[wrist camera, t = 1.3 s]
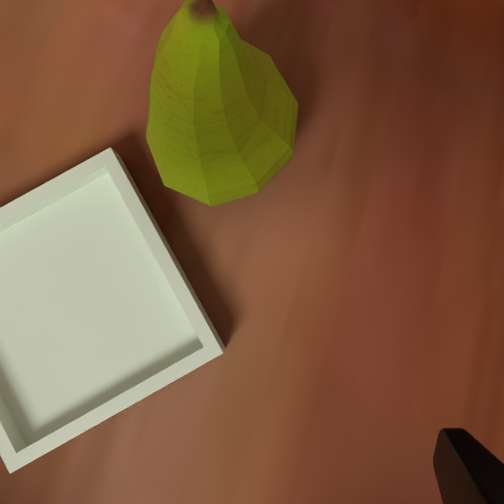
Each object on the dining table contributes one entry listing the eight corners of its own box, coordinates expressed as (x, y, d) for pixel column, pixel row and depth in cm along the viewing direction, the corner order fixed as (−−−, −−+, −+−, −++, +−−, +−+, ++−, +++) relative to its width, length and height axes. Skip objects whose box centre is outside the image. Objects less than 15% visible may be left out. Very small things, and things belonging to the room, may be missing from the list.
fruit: (262, 235, 21) (268, 168, 9) (138, 185, 21) (-15, 54, 9) (315, 109, 22) (385, -114, 10) (192, 60, 22) (111, -215, 10)
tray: (225, 348, 21) (223, 352, 19) (27, 460, 20) (9, 473, 19) (120, 156, 21) (110, 147, 20) (-72, 262, 21) (-97, 260, 20)
